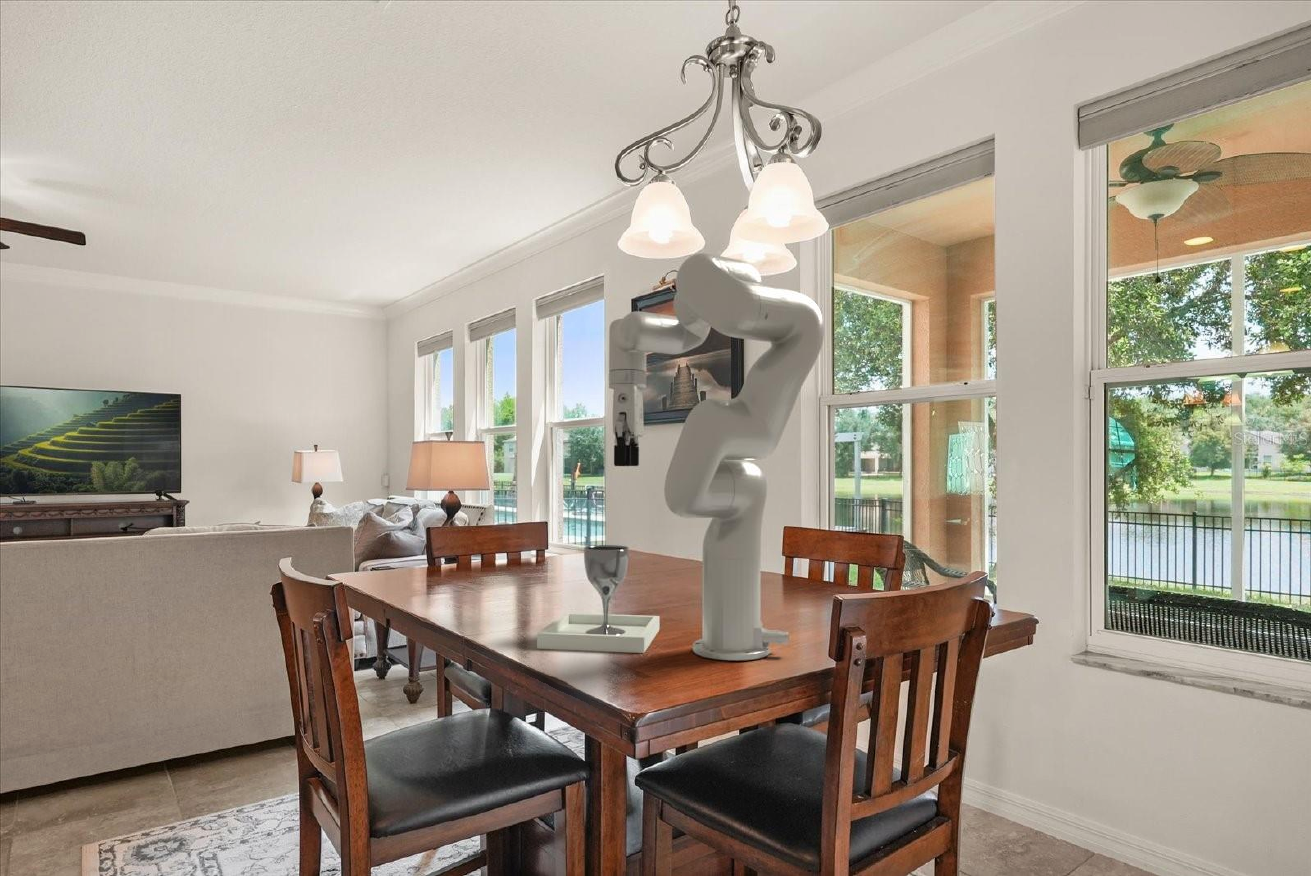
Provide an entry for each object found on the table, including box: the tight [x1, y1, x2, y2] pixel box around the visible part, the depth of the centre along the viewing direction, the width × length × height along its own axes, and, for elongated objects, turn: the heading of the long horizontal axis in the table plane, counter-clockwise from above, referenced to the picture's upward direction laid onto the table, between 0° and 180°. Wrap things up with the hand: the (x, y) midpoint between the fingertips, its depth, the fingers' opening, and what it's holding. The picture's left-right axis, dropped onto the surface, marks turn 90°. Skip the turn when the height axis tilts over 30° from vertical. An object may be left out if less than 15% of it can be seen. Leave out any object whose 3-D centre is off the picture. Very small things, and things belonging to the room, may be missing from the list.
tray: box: [536, 612, 660, 654], centre depth 134 cm, size 18×18×2 cm
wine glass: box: [583, 544, 629, 635], centre depth 136 cm, size 8×8×15 cm
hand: (626, 466), depth 153 cm, fingers open, 9 cm apart
